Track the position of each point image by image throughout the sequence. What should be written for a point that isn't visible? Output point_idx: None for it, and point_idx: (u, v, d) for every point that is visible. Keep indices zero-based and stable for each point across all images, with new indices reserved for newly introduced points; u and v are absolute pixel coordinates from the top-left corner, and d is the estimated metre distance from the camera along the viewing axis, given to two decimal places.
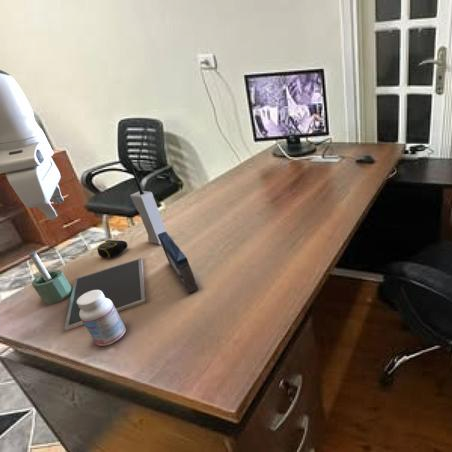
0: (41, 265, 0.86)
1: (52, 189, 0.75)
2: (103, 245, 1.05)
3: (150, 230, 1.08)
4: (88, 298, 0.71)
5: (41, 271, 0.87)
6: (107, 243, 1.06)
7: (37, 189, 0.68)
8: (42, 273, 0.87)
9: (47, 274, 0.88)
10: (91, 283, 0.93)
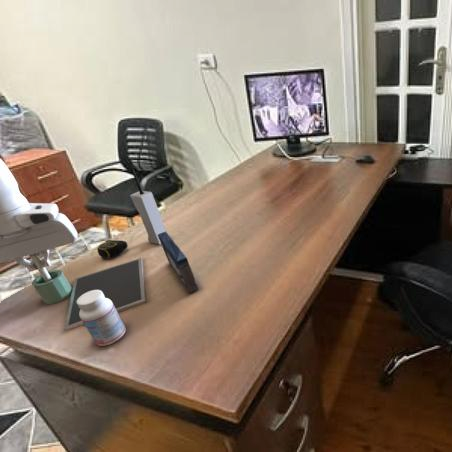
0: (41, 265, 0.86)
1: None
2: (103, 245, 1.05)
3: (150, 230, 1.08)
4: (88, 298, 0.71)
5: (41, 271, 0.87)
6: (107, 243, 1.06)
7: (72, 225, 0.88)
8: (42, 273, 0.87)
9: (47, 274, 0.88)
10: (91, 283, 0.93)
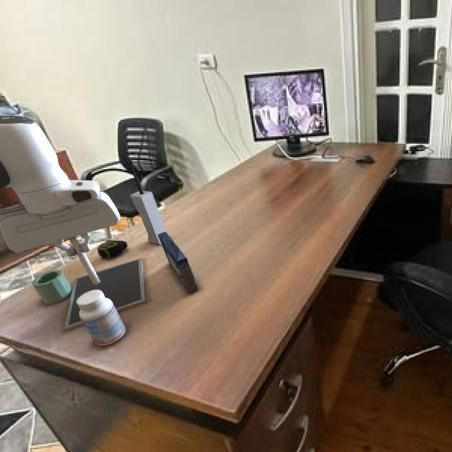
0: (81, 250, 0.78)
1: None
2: (103, 245, 1.05)
3: (150, 230, 1.08)
4: (88, 298, 0.71)
5: (81, 256, 0.78)
6: (107, 243, 1.06)
7: (114, 205, 0.79)
8: (82, 259, 0.78)
9: (87, 260, 0.79)
10: (91, 283, 0.93)
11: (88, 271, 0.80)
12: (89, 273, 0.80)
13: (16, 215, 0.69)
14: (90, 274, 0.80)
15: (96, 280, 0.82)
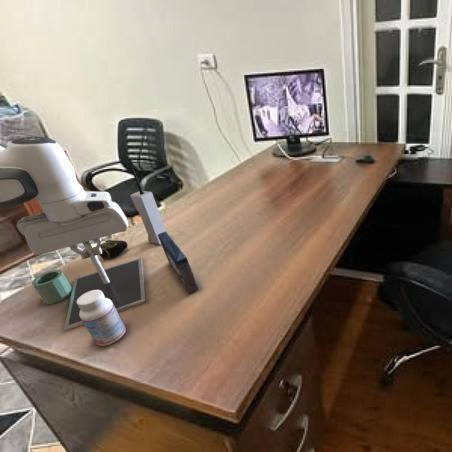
0: (93, 253, 0.87)
1: None
2: (103, 245, 1.05)
3: (150, 230, 1.08)
4: (88, 298, 0.71)
5: (93, 259, 0.88)
6: (107, 243, 1.06)
7: (123, 213, 0.89)
8: (94, 261, 0.88)
9: (98, 262, 0.89)
10: (91, 283, 0.93)
11: (99, 272, 0.90)
12: (100, 274, 0.90)
13: (38, 222, 0.79)
14: (101, 275, 0.90)
15: (106, 280, 0.91)
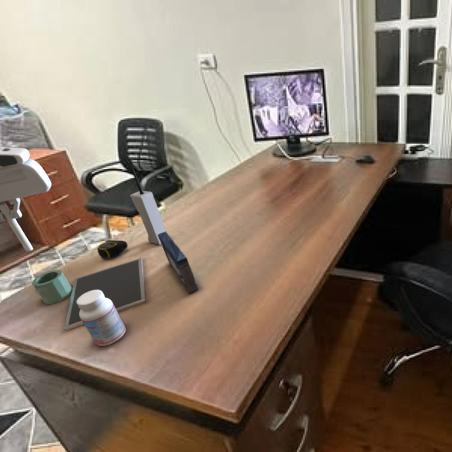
0: (10, 216, 0.80)
1: None
2: (103, 245, 1.06)
3: (150, 230, 1.08)
4: (88, 298, 0.71)
5: (11, 222, 0.80)
6: (107, 243, 1.06)
7: (45, 173, 0.81)
8: (12, 225, 0.80)
9: (17, 226, 0.81)
10: (91, 283, 0.93)
11: (19, 238, 0.82)
12: (20, 240, 0.82)
13: None
14: (21, 241, 0.82)
15: (29, 247, 0.84)
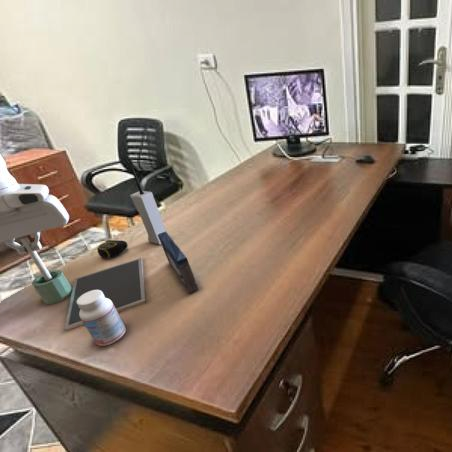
0: (31, 248, 0.84)
1: None
2: (103, 245, 1.05)
3: (150, 230, 1.08)
4: (88, 298, 0.71)
5: (31, 254, 0.84)
6: (107, 243, 1.06)
7: (63, 207, 0.85)
8: (32, 256, 0.85)
9: (38, 258, 0.86)
10: (91, 283, 0.93)
11: (39, 268, 0.86)
12: (40, 270, 0.87)
13: None
14: (41, 271, 0.87)
15: (48, 277, 0.88)
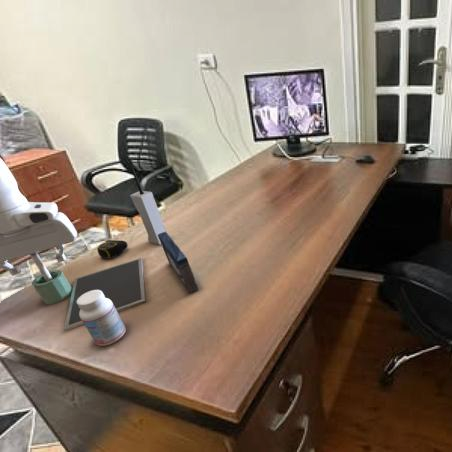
0: (42, 265, 0.87)
1: None
2: (103, 245, 1.06)
3: (150, 230, 1.08)
4: (88, 298, 0.71)
5: (42, 271, 0.87)
6: (107, 243, 1.06)
7: (71, 224, 0.88)
8: (43, 273, 0.87)
9: (48, 274, 0.88)
10: (91, 283, 0.93)
11: None
12: None
13: None
14: None
15: None
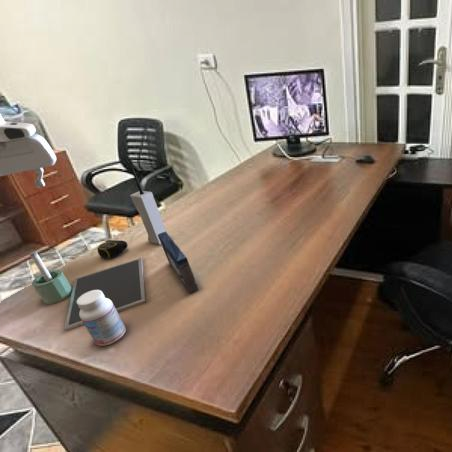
0: (42, 265, 0.87)
1: None
2: (103, 245, 1.06)
3: (150, 230, 1.08)
4: (88, 298, 0.71)
5: (42, 271, 0.87)
6: (107, 243, 1.06)
7: (50, 148, 0.84)
8: (43, 273, 0.87)
9: (48, 274, 0.88)
10: (91, 283, 0.93)
11: None
12: None
13: None
14: None
15: None
